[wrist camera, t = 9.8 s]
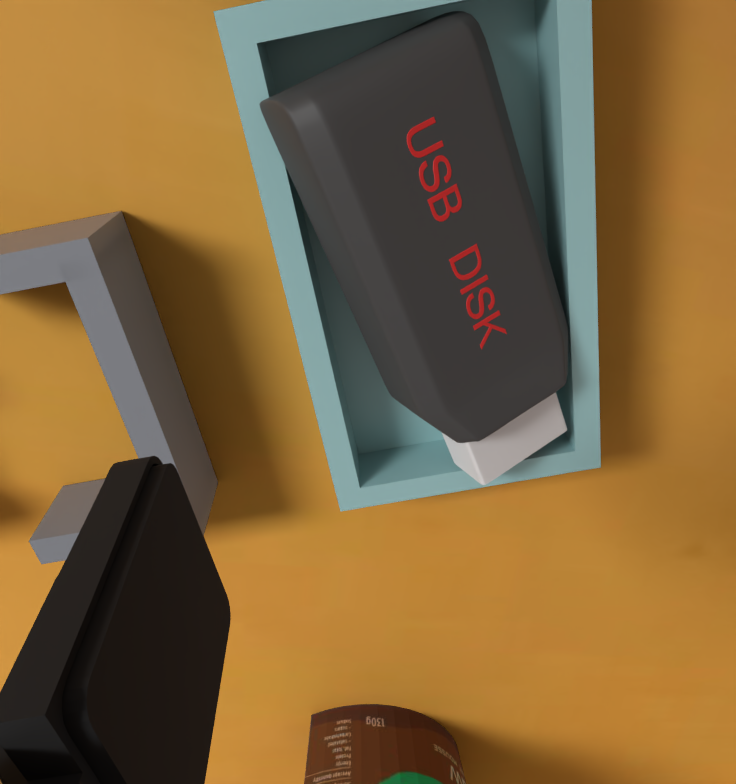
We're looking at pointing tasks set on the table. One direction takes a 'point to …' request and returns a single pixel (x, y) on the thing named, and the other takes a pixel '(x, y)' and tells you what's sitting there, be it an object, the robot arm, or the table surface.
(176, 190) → the table surface
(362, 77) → the usb drive
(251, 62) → the pale teal rectangular tray
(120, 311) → the clip
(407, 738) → the food container
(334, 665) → the table surface
